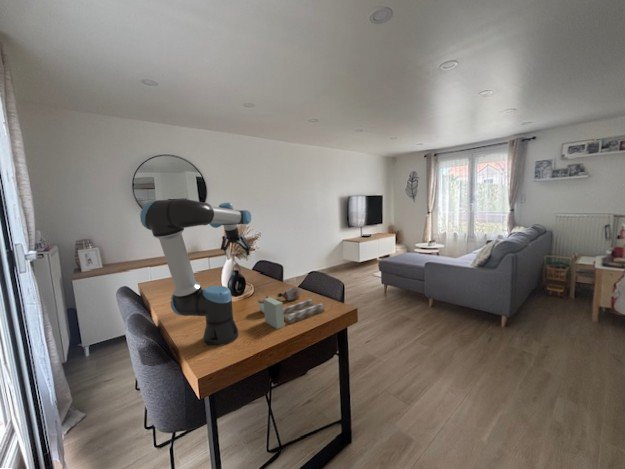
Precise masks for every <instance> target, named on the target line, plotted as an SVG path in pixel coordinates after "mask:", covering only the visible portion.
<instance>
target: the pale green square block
mask: <svg viewBox="0 0 625 469" xmlns="http://www.w3.org/2000/svg"><path fill="white" fill-rule="evenodd" d="M263 300H264V313H263V314H264V322H265V324H268V325H270V326H272V327H273V328H274V329H276V330H279V329H282V328H284V327H285V320H284V315H283V308H284V307H283V306H284V304H283V302H282V301H280V300H278V299H277V300H275V299H273V298H271V297H269V298H266V299H263Z"/></svg>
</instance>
